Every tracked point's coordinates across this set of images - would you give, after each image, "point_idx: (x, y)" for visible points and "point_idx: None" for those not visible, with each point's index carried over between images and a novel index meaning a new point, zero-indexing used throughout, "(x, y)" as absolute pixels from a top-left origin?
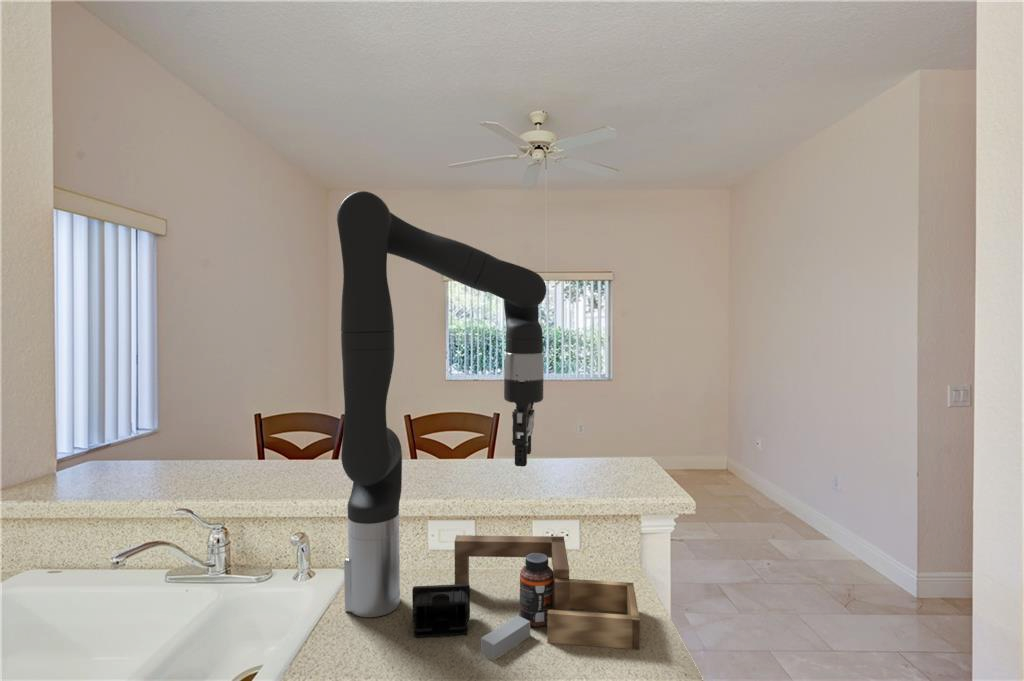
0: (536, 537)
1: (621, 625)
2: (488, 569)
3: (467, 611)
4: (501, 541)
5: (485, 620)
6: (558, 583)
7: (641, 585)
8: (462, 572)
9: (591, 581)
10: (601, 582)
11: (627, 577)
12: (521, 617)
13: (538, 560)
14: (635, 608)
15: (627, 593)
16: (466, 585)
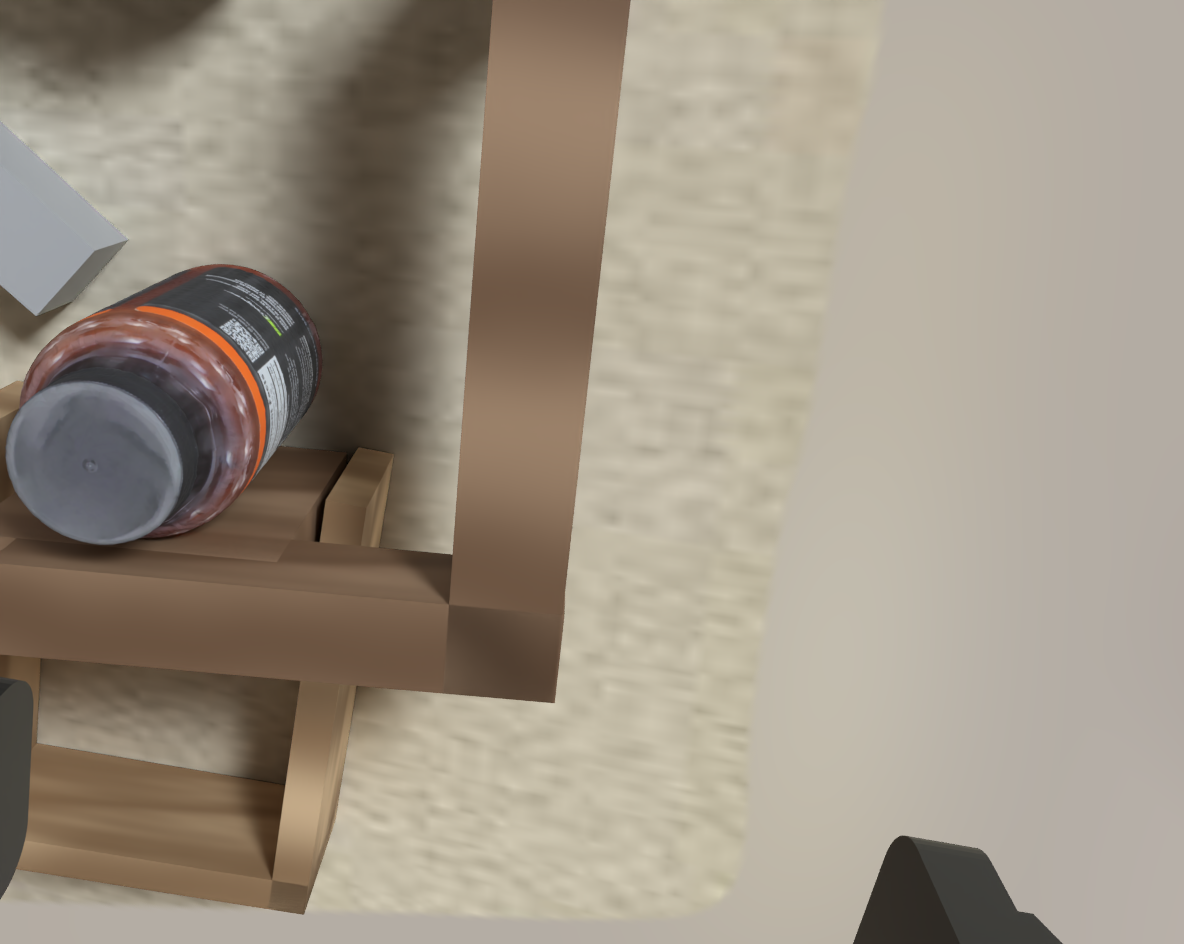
0: (549, 504)
1: None
2: (860, 102)
3: None
4: (484, 205)
5: (212, 53)
6: None
7: (562, 910)
8: None
9: (319, 719)
10: (306, 767)
11: (651, 871)
12: (72, 270)
13: (35, 472)
14: (34, 861)
15: (245, 856)
16: None
